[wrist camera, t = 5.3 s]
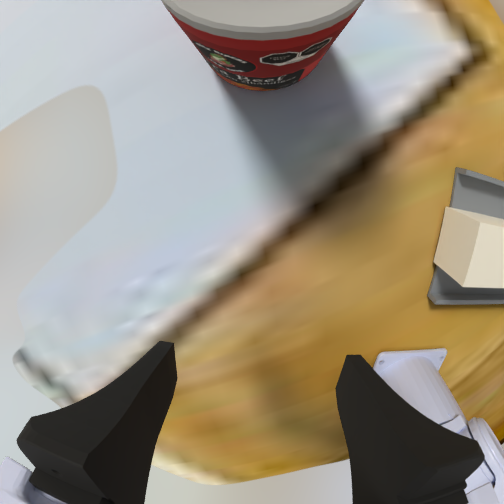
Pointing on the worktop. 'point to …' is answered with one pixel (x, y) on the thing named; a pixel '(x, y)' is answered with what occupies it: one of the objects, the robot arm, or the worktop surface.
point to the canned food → (262, 36)
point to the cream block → (472, 248)
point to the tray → (478, 201)
